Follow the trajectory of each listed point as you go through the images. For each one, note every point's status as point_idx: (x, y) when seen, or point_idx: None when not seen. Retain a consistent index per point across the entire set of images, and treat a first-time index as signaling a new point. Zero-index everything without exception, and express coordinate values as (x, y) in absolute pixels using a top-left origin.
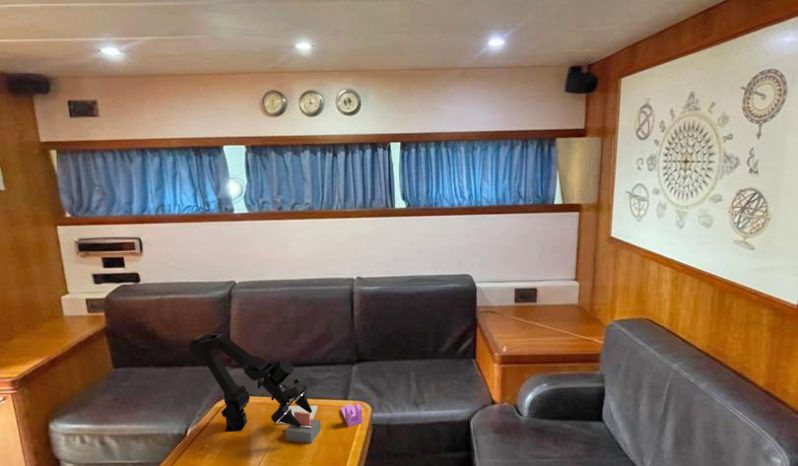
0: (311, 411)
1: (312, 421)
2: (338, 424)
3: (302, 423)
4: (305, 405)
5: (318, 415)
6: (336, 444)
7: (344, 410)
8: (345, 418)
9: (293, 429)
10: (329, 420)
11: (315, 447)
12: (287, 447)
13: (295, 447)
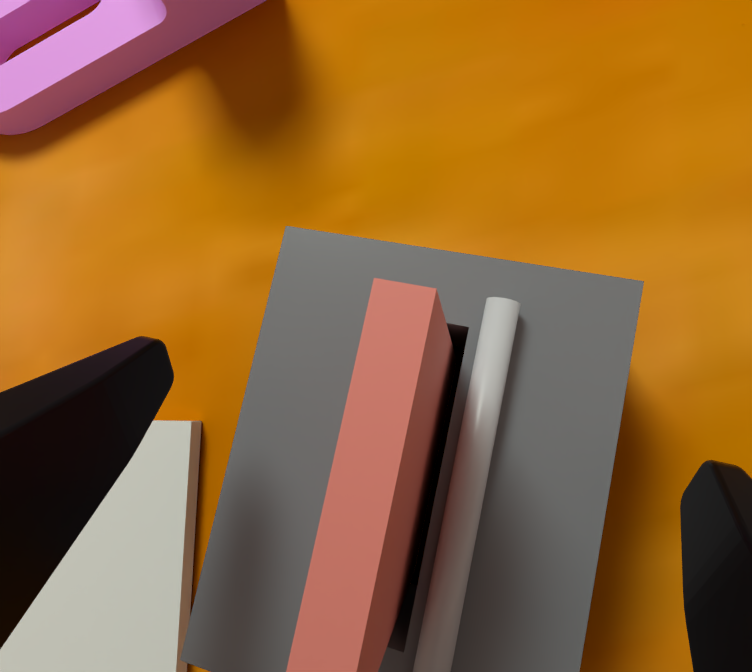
0: (158, 344)
1: (306, 336)
2: (235, 102)
3: (421, 482)
4: (2, 499)
5: (49, 368)
6: (609, 19)
7: (20, 72)
8: (167, 18)
9: (540, 629)
10: (154, 218)
11: (684, 243)
12: None
13: None
